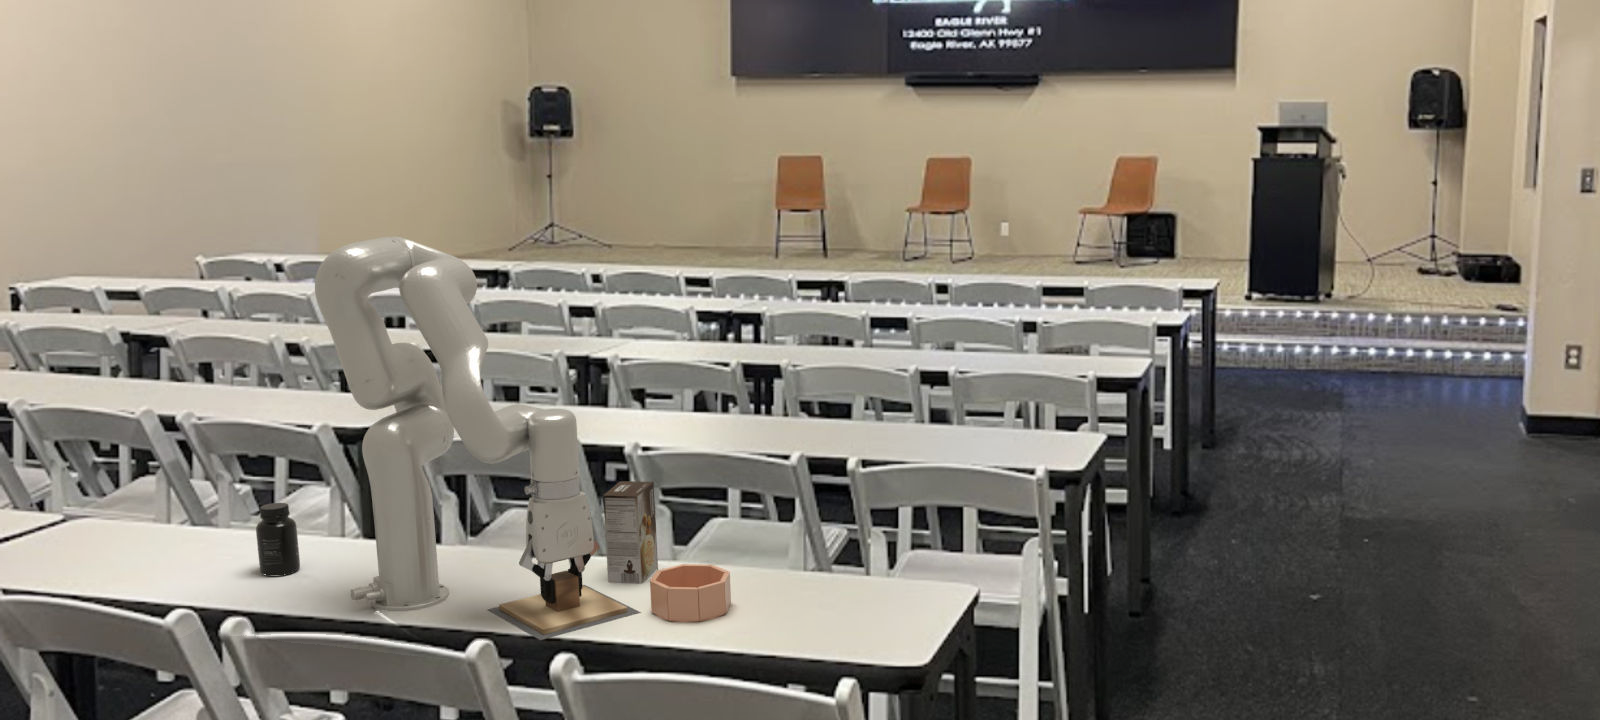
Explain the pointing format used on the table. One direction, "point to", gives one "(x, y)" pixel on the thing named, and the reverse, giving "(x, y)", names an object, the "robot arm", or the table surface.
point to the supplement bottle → (277, 540)
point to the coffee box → (630, 532)
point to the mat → (541, 636)
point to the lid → (563, 606)
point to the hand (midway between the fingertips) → (562, 597)
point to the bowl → (690, 593)
